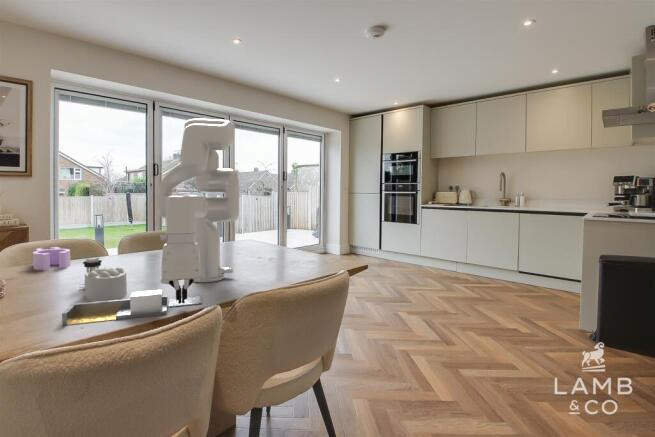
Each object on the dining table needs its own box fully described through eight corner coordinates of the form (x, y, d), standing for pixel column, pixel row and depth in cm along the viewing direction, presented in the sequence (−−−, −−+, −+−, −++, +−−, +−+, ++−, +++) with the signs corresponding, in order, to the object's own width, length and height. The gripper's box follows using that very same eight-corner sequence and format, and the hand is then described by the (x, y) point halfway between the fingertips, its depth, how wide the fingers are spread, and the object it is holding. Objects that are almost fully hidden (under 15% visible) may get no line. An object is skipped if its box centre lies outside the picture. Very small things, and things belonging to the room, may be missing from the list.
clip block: (162, 304, 100) (162, 289, 99) (161, 310, 96) (161, 294, 95) (132, 307, 97) (132, 292, 97) (130, 313, 93) (130, 296, 92)
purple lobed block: (29, 264, 153) (28, 248, 152) (64, 260, 162) (63, 246, 162) (36, 272, 139) (35, 255, 139) (74, 267, 148) (73, 251, 148)
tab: (200, 297, 111) (200, 296, 111) (201, 303, 104) (201, 302, 104) (169, 300, 107) (169, 299, 107) (169, 307, 101) (169, 306, 101)
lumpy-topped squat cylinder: (117, 288, 119) (116, 263, 118) (133, 296, 110) (132, 269, 110) (81, 295, 111) (80, 268, 110) (96, 304, 102) (95, 275, 102)
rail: (167, 305, 103) (167, 295, 102) (166, 314, 95) (166, 303, 95) (71, 314, 94) (71, 304, 93) (62, 325, 86) (61, 313, 86)
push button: (80, 291, 115) (79, 261, 114) (77, 287, 119) (76, 258, 118) (104, 287, 120) (103, 258, 119) (100, 284, 123) (99, 256, 123)
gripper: (150, 241, 92) (151, 309, 93) (209, 239, 98) (209, 303, 99) (152, 238, 99) (153, 301, 100) (207, 236, 105) (208, 296, 106)
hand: (181, 302), depth 100 cm, fingers closed
